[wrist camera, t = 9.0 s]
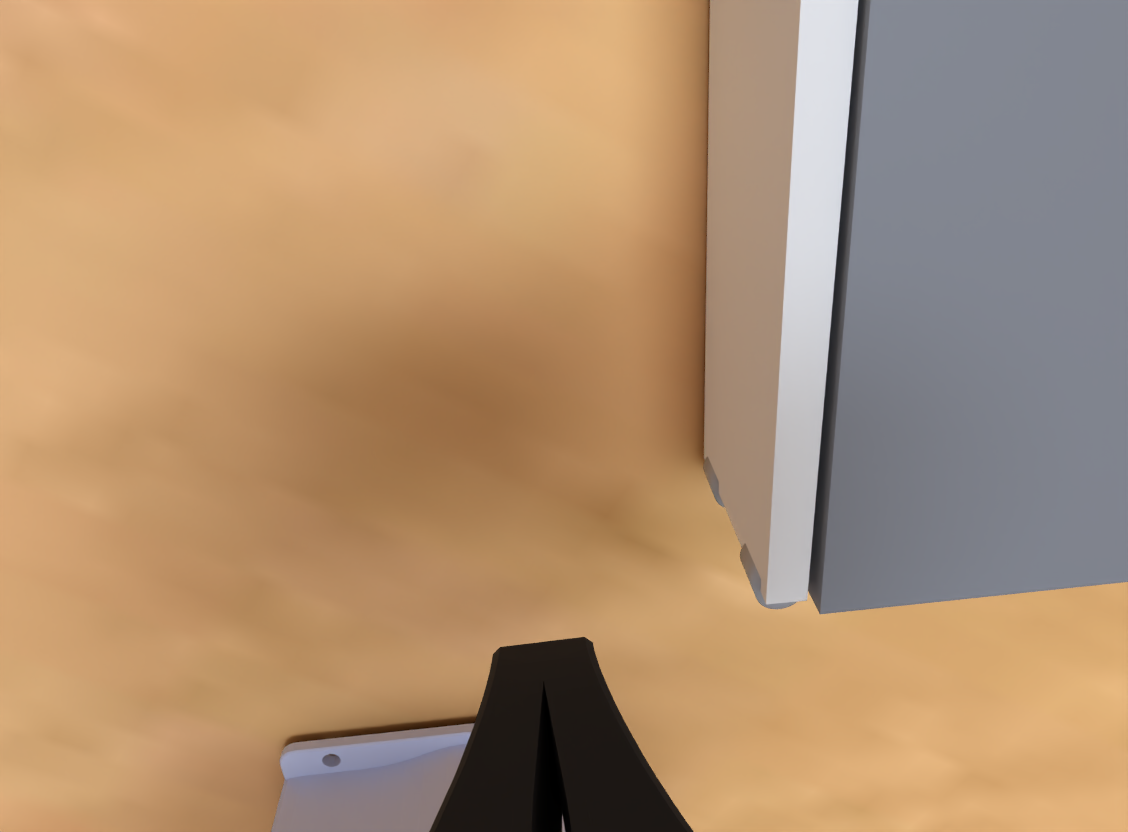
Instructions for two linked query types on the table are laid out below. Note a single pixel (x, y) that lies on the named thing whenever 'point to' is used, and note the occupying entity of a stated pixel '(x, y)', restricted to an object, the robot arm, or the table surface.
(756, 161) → the door
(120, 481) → the table surface
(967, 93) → the cabinet
